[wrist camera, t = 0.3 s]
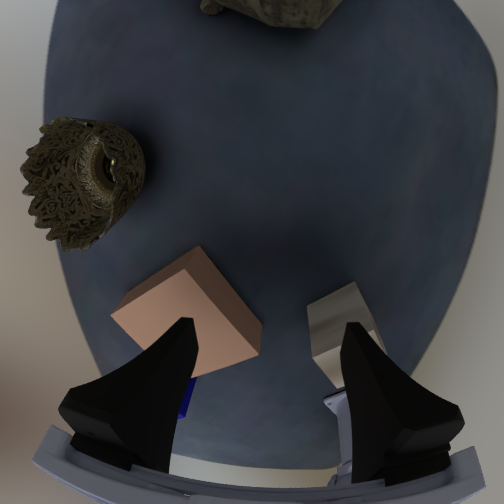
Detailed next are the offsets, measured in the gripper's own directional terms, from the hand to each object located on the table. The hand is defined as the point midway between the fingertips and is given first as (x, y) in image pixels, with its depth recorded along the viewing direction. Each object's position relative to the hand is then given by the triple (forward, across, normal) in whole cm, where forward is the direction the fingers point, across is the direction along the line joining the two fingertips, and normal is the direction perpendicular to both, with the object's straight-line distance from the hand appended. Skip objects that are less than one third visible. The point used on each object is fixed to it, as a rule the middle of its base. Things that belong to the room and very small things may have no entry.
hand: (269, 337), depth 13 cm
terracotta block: (+10, +7, +6) cm, 13 cm away
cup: (+9, +11, -7) cm, 16 cm away
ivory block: (+9, -6, +6) cm, 12 cm away
